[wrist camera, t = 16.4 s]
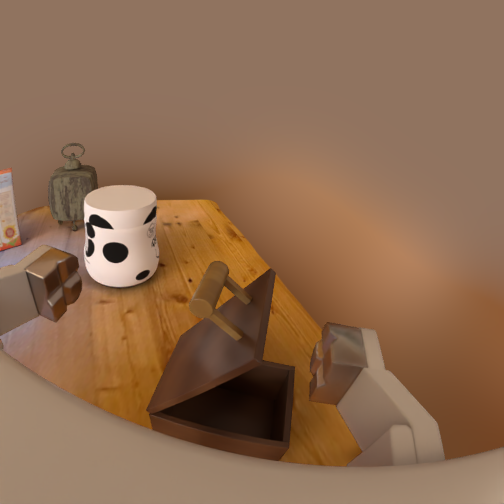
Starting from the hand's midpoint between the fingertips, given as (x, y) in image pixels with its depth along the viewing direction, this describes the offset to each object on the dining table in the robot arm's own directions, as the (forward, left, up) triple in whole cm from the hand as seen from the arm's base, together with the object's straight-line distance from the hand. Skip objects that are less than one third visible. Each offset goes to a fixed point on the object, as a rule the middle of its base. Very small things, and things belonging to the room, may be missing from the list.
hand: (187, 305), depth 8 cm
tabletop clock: (+55, +53, -33) cm, 83 cm away
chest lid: (+14, +1, -17) cm, 22 cm away
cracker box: (+35, +68, -33) cm, 83 cm away
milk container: (+42, +28, -33) cm, 60 cm away
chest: (+14, -2, -33) cm, 36 cm away
